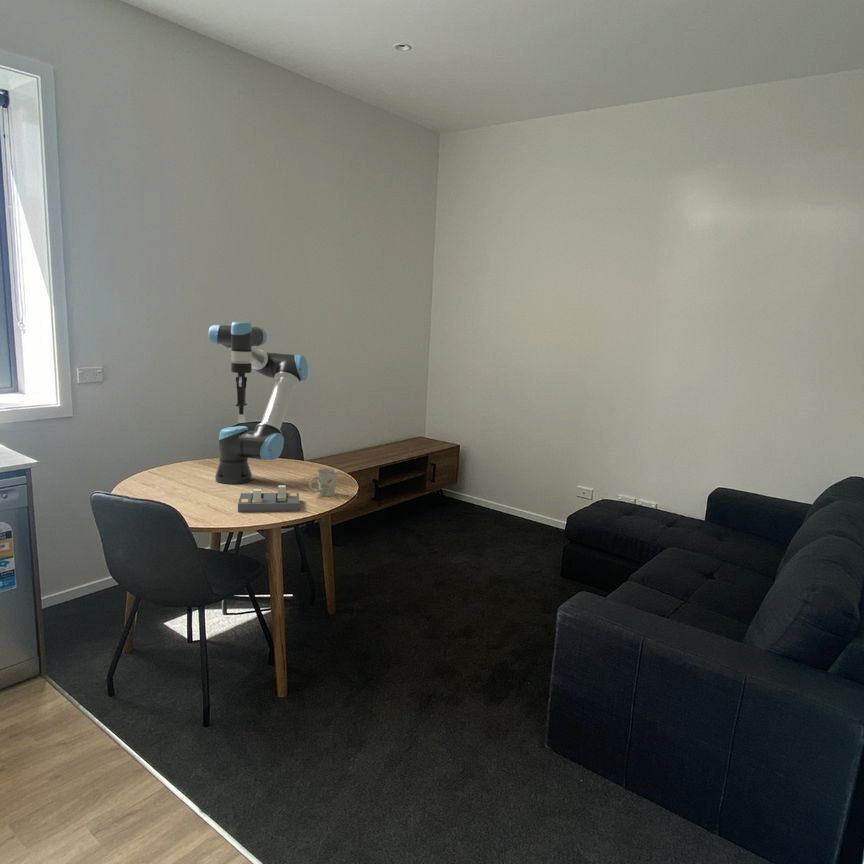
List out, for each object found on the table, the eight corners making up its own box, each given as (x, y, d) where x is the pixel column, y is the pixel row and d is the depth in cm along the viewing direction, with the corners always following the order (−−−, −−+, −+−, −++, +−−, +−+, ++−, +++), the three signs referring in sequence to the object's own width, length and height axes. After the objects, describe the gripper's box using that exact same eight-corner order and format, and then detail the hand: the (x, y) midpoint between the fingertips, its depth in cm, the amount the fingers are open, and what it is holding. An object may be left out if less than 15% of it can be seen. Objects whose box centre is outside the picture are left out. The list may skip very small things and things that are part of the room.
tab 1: (252, 502, 232) (252, 488, 231) (261, 502, 233) (261, 488, 232) (252, 505, 228) (252, 491, 227) (261, 505, 229) (261, 491, 228)
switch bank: (241, 500, 239) (241, 492, 238) (298, 499, 243) (299, 492, 243) (237, 511, 225) (237, 503, 225) (299, 510, 230) (299, 502, 229)
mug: (341, 495, 253) (341, 471, 251) (314, 500, 244) (315, 476, 242) (329, 490, 259) (330, 467, 257) (303, 495, 250) (304, 471, 248)
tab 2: (277, 498, 239) (277, 484, 238) (286, 498, 240) (286, 484, 239) (277, 501, 235) (277, 487, 234) (286, 501, 236) (286, 487, 235)
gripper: (232, 360, 243) (233, 419, 247) (229, 363, 230) (229, 425, 235) (252, 361, 245) (252, 419, 249) (250, 364, 232) (250, 425, 236)
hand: (241, 422), depth 242 cm, fingers closed
